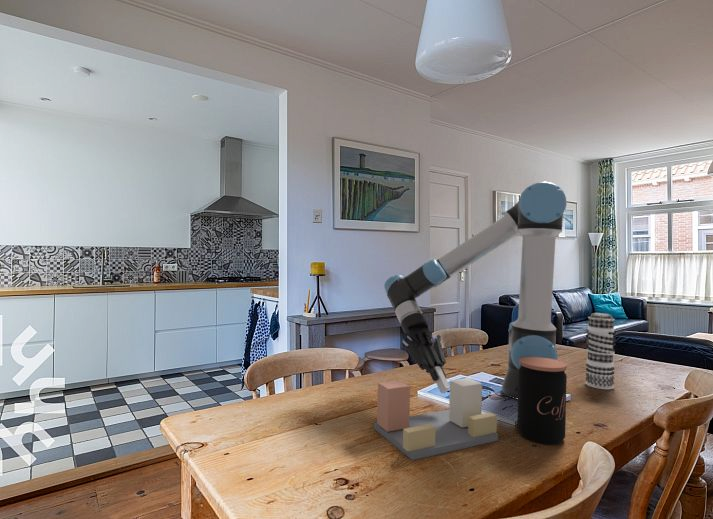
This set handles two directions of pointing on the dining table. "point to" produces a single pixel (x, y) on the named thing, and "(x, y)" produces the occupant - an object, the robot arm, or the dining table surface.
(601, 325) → the white patterned cylinder
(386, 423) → the terracotta key
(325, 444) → the dining table surface
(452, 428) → the board
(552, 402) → the coffee jar
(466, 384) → the cream key
